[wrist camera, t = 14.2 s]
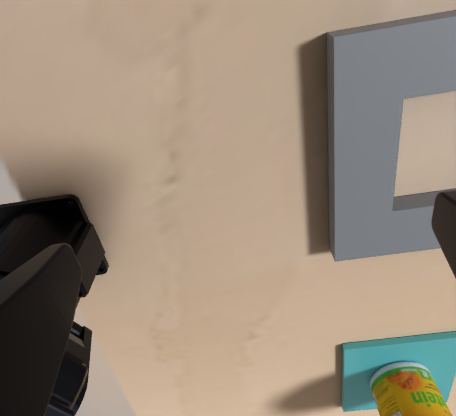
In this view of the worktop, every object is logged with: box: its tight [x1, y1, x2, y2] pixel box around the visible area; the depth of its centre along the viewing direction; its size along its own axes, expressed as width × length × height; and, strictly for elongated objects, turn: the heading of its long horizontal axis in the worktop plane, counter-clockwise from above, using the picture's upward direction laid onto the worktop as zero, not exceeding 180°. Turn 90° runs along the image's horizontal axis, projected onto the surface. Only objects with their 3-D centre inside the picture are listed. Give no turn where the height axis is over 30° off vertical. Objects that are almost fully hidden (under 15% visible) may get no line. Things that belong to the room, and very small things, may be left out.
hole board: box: [327, 10, 456, 261], centre depth 21 cm, size 14×14×2 cm
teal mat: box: [342, 331, 456, 412], centre depth 34 cm, size 10×10×1 cm
